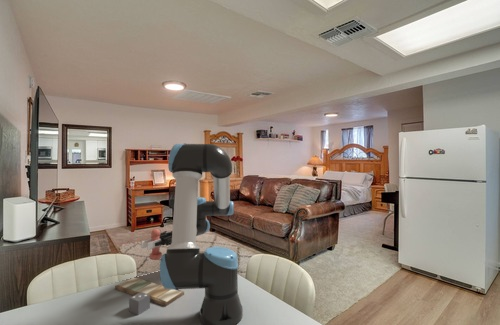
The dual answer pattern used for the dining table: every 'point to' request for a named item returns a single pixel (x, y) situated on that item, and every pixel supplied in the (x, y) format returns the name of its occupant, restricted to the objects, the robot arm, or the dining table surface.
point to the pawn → (155, 251)
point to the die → (139, 303)
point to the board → (150, 290)
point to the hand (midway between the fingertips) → (144, 245)
